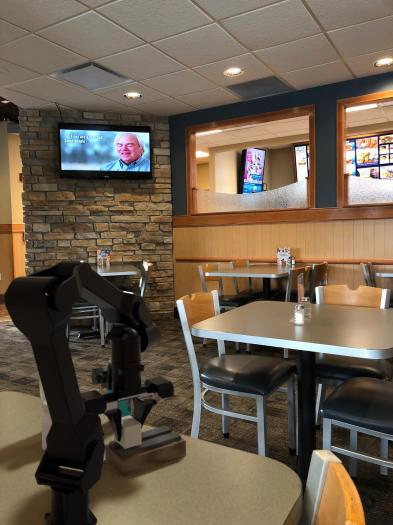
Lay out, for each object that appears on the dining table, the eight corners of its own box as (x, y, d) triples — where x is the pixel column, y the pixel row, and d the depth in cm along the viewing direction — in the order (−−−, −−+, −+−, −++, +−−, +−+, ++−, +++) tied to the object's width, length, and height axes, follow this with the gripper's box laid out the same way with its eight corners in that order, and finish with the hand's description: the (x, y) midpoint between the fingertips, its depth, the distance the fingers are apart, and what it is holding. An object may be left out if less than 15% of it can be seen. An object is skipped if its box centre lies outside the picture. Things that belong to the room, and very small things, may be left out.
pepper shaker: (42, 443, 93) (41, 400, 93) (62, 440, 95) (61, 397, 94) (42, 451, 90) (40, 406, 89) (62, 448, 91) (61, 404, 90)
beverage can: (127, 427, 101) (126, 364, 100) (104, 426, 102) (102, 363, 101) (135, 417, 107) (134, 357, 106) (113, 416, 108) (111, 357, 107)
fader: (130, 439, 88) (129, 415, 87) (141, 449, 83) (141, 423, 83) (114, 444, 86) (113, 419, 85) (124, 454, 81) (124, 428, 81)
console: (165, 440, 94) (165, 423, 94) (186, 455, 88) (185, 436, 87) (105, 459, 86) (105, 440, 86) (122, 476, 80) (122, 456, 79)
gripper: (148, 344, 96) (150, 413, 96) (65, 358, 85) (67, 435, 86) (175, 355, 86) (176, 431, 87) (85, 371, 76) (87, 458, 77)
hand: (127, 438), depth 84 cm, fingers closed on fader, 3 cm apart
